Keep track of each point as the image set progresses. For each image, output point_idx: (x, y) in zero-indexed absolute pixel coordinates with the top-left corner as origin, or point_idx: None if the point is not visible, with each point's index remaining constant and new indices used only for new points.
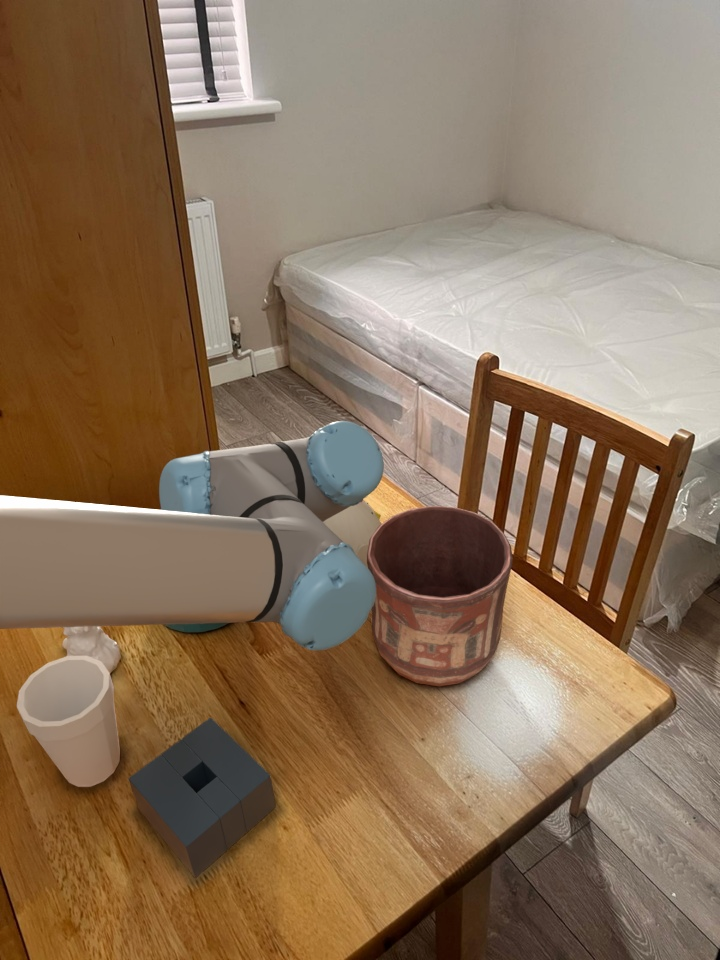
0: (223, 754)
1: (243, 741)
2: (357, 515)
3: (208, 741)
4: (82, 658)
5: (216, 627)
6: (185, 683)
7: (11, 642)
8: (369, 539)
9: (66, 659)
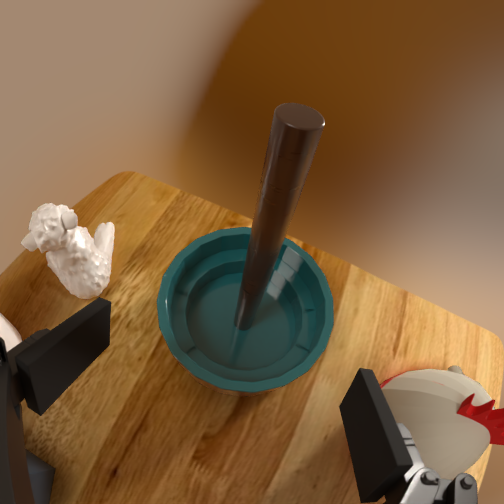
0: None
1: (76, 491)
2: (467, 463)
3: None
4: None
5: (195, 380)
6: (105, 391)
7: (102, 185)
8: None
9: None
